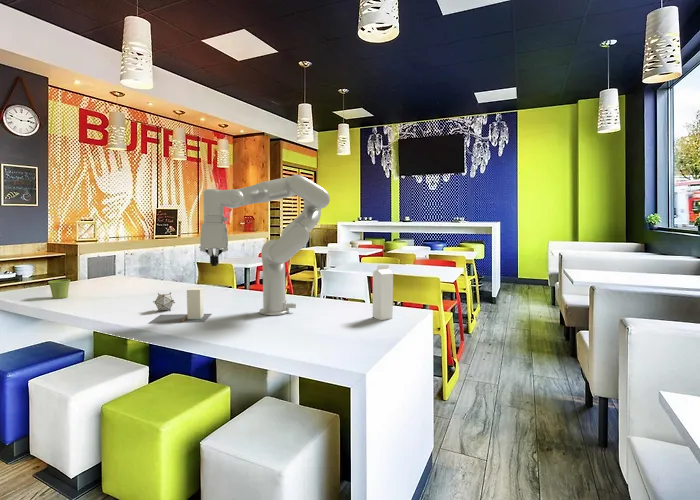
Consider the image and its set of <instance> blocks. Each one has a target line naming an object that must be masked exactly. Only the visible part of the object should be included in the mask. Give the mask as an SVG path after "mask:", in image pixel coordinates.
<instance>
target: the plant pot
mask: <svg viewBox="0 0 700 500" xmlns="http://www.w3.org/2000/svg"><path fill="white" fill-rule="evenodd" d="M70 282H71V279H55V280H49V281H47V284H48V285H49V288H50V292H51V296H52V299H55V300H58V299H66V298H68V297H69V288H70V287H69V286H70Z"/></svg>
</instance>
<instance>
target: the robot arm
mask: <svg viewBox="0 0 700 500" xmlns="http://www.w3.org/2000/svg"><path fill="white" fill-rule="evenodd" d="M202 194H203V198H202V199H203V200H202V201H203V223H202V224H201V228H200V239H199V241H200V242H199V244H200V245H199V246H200V249H199V250H200V252H203V253H206V254H207V255H208V256H209V264H210V265H211V267H217V266H218V265H219V262H220V261H219V257H220V255H221V254H222V253H224V252H225V253H226V252H228V251H229V248H228V245H229V237H228V236H229V235H228V229H227V224H226V223H225V222H227V221H228V217H226V216H224V215H225V213H224V207H225V208H227V209H237V208H239V207H244V206H248V205H252V204H260V203H261V204H262V203H263V204H264V203H267V202H268V203H269V202H272V201H277V200H281V199H286V198H291V197H295V196H298V197H299V198H300V199H303V209H302V211H301V212H300V214H299V215H298V216H297V217H295V218H294V220H292V221H291V222H290V223H288V224H287V225H286V226H285V227H284V228H283V229H282V231H281V236H280V237H279V238H278V239H269V240H267V241H266V242H264V244H263V245H262V247H261V254H260V255H261V262H262V263H261V264H262V301H263V302H262V303H263V305H262V308H260V309H259V313H260V314H261V315H264V316H282V315H286V314H289V312H290V309H296V307H297V304H296V303H292V302H291V303H289V302H287V300H286V265H285V263H287V262H288V261H289V260H291V259H292V258H293V257H294V256H295V255H296V254H297V253H298V252H299V251H301V250H302V249H303V248H304V247H305V246H306V245H307V243H308V242H309V241H310V240H309V239H310V237H311V236H310V232H311V231H313V229H314V228H315V227H316V226H317V225H318V223H319V222H320V219H321V216H322V215H321V214H322V209H325V208H327V206H329V204H330V201H331V196H330V194H329V192H328V191H327V190H326V189H324V188H323V187H321V186H320V185H318V184H317V183H315V182H313V181H312V180H310V179H308V178H307V177H305V176H303V175H302V174H293V175H291V176H285V177H281V178H276V179H271V180H265V181H261V182H259V183H255V184H253V185H249V186H246V187H242V188H237V189H231V188H230V189H216V188H208V189H204V191H203V193H202ZM214 249H215V252H214Z"/></svg>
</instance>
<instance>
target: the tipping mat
mask: <svg viewBox="0 0 700 500" xmlns="http://www.w3.org/2000/svg"><path fill="white" fill-rule="evenodd" d="M211 315H213V313H204V316H203V317H202V318H201V319H195V320H188V319H187V313H181V314H178V313H175V314H174V313H173V314H172V313H171V314H159V315H158V316H157V317H155V318H154V319H152V320H151V321H148V323H147V324H150V325H151V324H183V323H185V324H186V323H187V324H188V323H190V324H191V323H205V322H206V321H207V320H208V319H209V318H210V317H211Z"/></svg>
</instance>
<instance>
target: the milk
mask: <svg viewBox="0 0 700 500" xmlns="http://www.w3.org/2000/svg"><path fill="white" fill-rule="evenodd" d="M389 267H390V266H389V264H380V265H379V264H378V265H377V266H376V269H375V270H374V271H373V272H372V318H373V317H374V318H373V319H376V320H378V321H384V320H391V319H393V314H394V313H393V309H394V307H393V306H394V305H393V304H394V303H393V301H394V300H393V299H394V297H393V296H394V295H393V294H394V273H393V271H392V270H391V269H390V268H389Z"/></svg>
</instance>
